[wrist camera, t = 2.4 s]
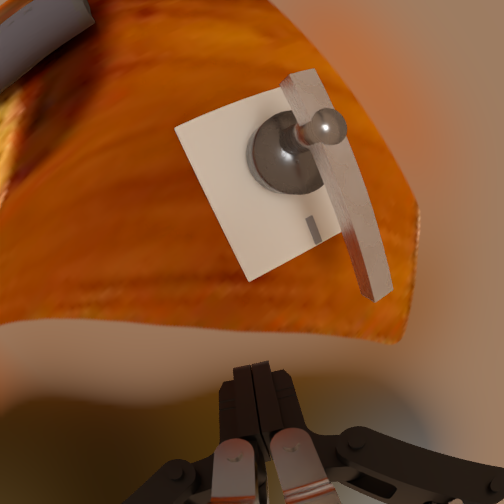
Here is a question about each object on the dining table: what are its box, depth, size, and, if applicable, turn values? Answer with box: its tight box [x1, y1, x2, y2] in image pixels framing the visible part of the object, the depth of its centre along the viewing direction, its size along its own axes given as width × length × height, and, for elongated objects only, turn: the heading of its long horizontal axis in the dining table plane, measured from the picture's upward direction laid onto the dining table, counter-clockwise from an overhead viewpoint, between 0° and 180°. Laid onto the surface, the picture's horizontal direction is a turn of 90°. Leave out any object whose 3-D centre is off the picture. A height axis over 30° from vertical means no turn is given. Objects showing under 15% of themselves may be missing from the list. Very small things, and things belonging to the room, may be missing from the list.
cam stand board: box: [174, 87, 342, 282], centre depth 32 cm, size 20×18×1 cm
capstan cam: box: [246, 68, 393, 302], centre depth 26 cm, size 21×9×12 cm, turn 25°
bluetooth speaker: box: [0, 0, 95, 93], centre depth 16 cm, size 23×9×10 cm, turn 115°
